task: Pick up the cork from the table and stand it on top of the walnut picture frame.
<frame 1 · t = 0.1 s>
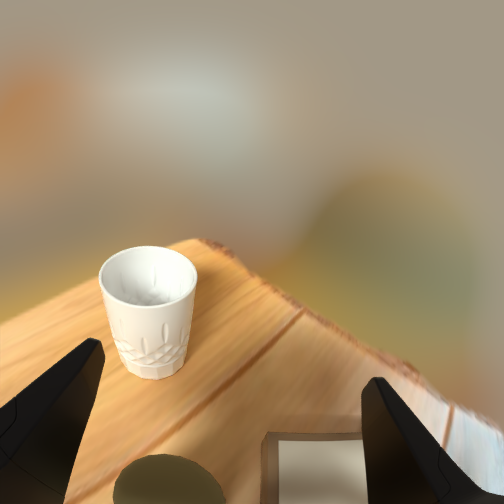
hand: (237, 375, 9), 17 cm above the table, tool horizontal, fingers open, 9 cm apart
walnut picture frame: (334, 503, 17), on the table
white cup: (153, 354, 28), on the table
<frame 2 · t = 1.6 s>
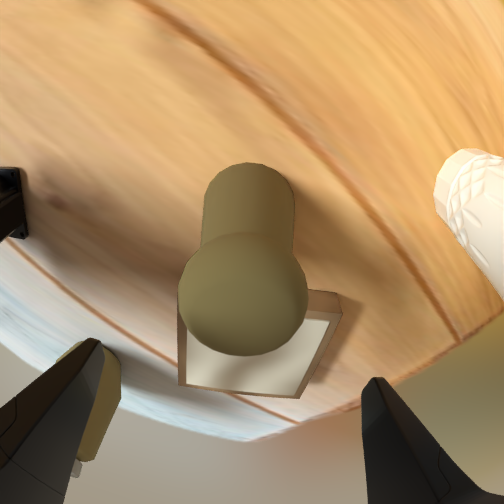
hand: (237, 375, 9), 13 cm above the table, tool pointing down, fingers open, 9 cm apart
cork: (249, 205, 20), on the table
squeeze bottle: (98, 356, 30), on the table
walnut picture frame: (250, 336, 26), on the table
white cup: (464, 188, 19), on the table
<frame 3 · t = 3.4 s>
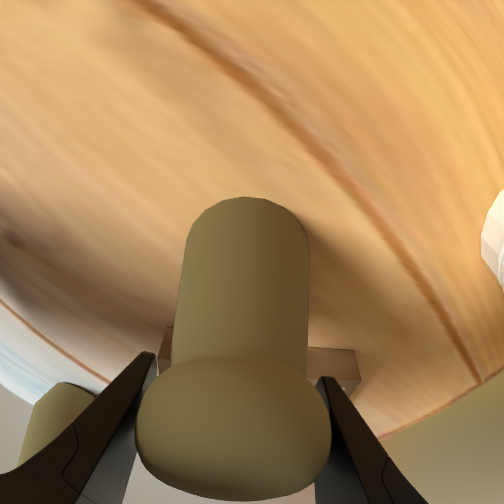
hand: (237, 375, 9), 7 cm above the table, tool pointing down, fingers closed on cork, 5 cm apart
cork: (247, 253, 15), on the table, touching gripper
squeeze bottle: (81, 396, 25), on the table
walnut picture frame: (248, 392, 21), on the table
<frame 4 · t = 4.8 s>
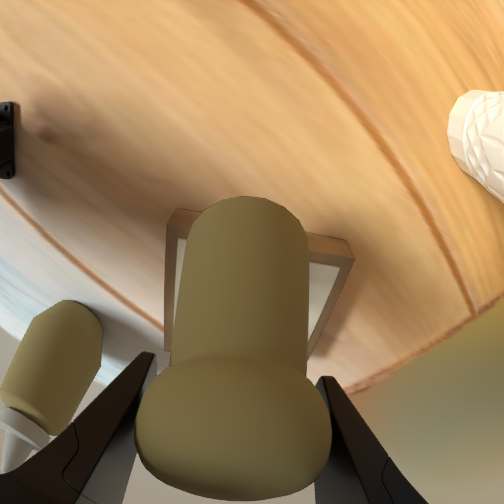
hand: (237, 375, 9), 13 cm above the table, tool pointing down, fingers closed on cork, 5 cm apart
cork: (247, 252, 15), point 6 cm above the table, touching gripper
squeeze bottle: (79, 319, 27), on the table
walnut picture frame: (247, 292, 24), on the table
white cup: (478, 132, 16), on the table
when the fingers open (10 cm above the table, at t = 6.6 s): cork stays where it is, resting on walnut picture frame.
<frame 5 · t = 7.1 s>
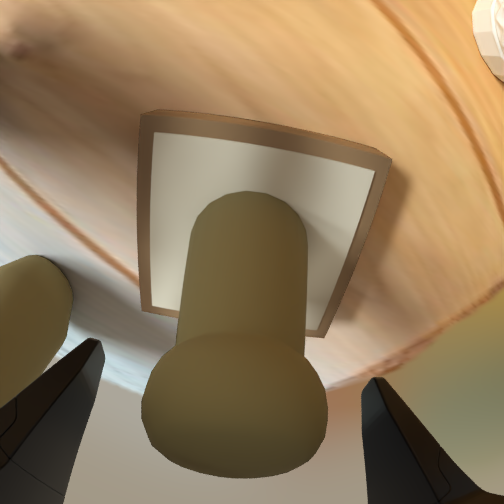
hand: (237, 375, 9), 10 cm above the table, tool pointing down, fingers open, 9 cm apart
cork: (248, 244, 16), point 2 cm above the table, touching walnut picture frame
squeeze bottle: (47, 281, 21), on the table
walnut picture frame: (250, 224, 18), on the table
white cup: (503, 40, 10), on the table
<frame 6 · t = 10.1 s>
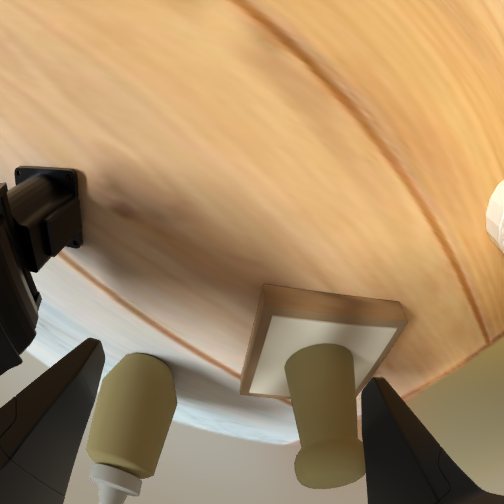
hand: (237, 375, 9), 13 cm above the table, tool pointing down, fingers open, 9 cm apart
cork: (318, 364, 25), point 2 cm above the table, touching walnut picture frame
squeeze bottle: (147, 367, 30), on the table
walnut picture frame: (315, 343, 27), on the table
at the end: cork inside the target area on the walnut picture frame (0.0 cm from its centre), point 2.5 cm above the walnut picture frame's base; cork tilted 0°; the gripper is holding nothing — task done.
